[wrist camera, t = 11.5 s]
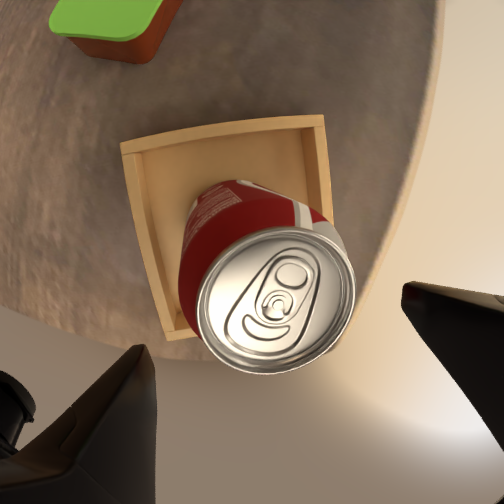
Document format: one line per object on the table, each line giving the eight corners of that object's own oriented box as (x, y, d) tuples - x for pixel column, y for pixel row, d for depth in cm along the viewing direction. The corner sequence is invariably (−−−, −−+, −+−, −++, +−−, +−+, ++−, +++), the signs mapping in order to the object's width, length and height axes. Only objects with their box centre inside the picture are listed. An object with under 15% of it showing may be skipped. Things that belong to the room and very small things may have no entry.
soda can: (172, 254, 20) (151, 364, 9) (207, 163, 19) (224, 168, 8) (258, 284, 22) (315, 396, 11) (295, 201, 21) (400, 252, 10)
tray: (321, 290, 24) (336, 305, 21) (169, 321, 22) (167, 341, 20) (307, 119, 20) (323, 114, 17) (129, 144, 18) (119, 142, 15)
